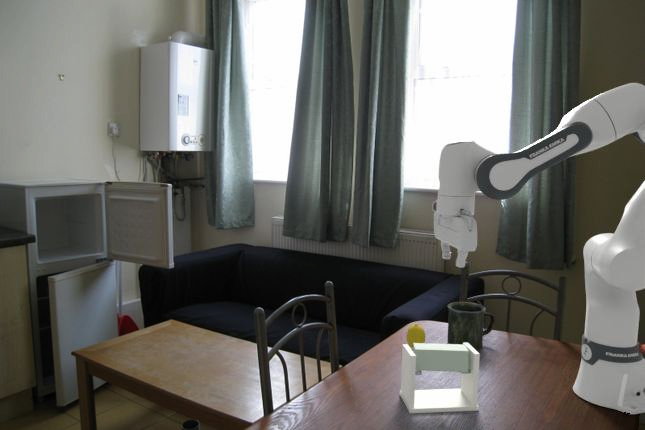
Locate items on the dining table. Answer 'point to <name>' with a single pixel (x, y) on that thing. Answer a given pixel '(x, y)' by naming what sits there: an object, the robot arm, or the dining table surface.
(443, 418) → the dining table surface
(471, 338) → the mug
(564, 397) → the dining table surface
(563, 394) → the dining table surface
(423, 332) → the lemon
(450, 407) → the shelf unit
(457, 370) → the shelf board
